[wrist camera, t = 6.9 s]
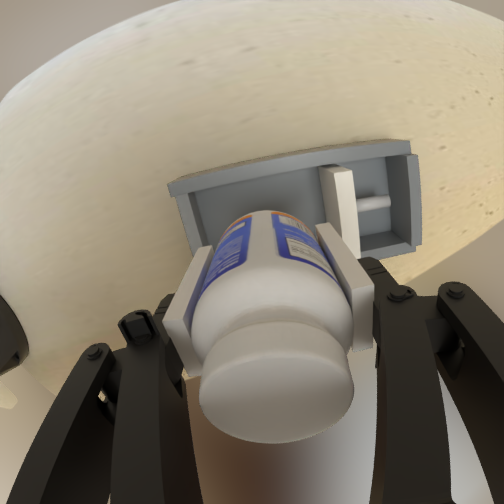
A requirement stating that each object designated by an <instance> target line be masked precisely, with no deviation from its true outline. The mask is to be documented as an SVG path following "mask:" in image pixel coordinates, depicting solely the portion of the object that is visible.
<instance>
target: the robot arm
mask: <svg viewBox="0 0 504 504" xmlns="http://www.w3.org/2000/svg"><path fill="white" fill-rule="evenodd" d="M315 227H316V234H317V241H318V244H319V245H320V247H321V249H322V251H323V253H324V255H325V257H326V259H327V261H328V263H329V264H330V266H331V268H332V270H333V272H334V274H335V276H336V278H337V280H338V282H339V284H340V286H341V288H342V290H343V292H344V295H345V297H346V299H347V301H348V303H349V306H350V309H351V312H352V316H353V322H354V333H353V340H352V344H351V348H352V350H353V352H357V351H361V350H365V349H369V348H372V347H373V337H374V339H375V341H376V343H377V353H376V364H375V368H377V424H376V426H377V427H376V444H375V457H374V470H373V479H372V487H371V494H370V501H369V504H456V503H455V502H454V501H453V500H452V497H451V473H450V454H449V442H448V433H447V424H446V417H445V411H444V403H443V398H442V392H441V386H440V381H439V376H438V372H437V370H438V371H439V373H440V375H441V377H442V379H443V381H444V383H445V385H446V386H447V389H448V391H449V392H450V395H451V397H452V399H453V401H454V403H455V405H456V407H457V409H458V411H459V413H460V415H461V418H462V420H463V422H464V424H465V426H466V429H467V431H468V433H469V435H470V438H471V440H472V443H473V445H474V448H475V450H476V453H477V455H478V457H479V460H480V463H481V466H482V468H483V471H484V474H485V476H486V479H487V483H488V485H489V488H490V492H491V495H492V498H493V501H494V504H504V323H503V322H502V321H501V320H500V319H499V318H498V317H497V315H496V314H495V313H494V312H493V311H492V310H491V309H490V308H489V307H488V306H487V305H486V304H485V303H484V301H483V300H481V298H480V297H479V296H478V295H477V294H476V293H475V292H474V291H473V290H472V289H471V288H470V287H468V286H467V285H466V284H463V283H460V282H447V283H444V284H442V285H441V286H440V287H439V290H438V296H417V294H416V292H415V291H414V290H413V289H412V288H410V287H407V286H404V285H399V284H398V283H397V282H396V281H395V280H394V278H393V277H392V276H391V275H390V273H389V272H387V270H386V269H385V267H383V265H382V264H381V263H380V261H379V260H377V259H375V258H373V257H370V256H369V257H364V258H360V259H356V258H355V256H354V255H353V253H352V252H351V251H350V249H349V248H348V247H347V245H346V244H345V243H344V241H343V240H342V238H341V237H340V236H339V234H338V233H337V232H336V230H335V229H334V228H333V226H332V225H331V224H330V223H329V222H328V223H322V224H317V225H315ZM213 257H214V250H213V247H212V245H210V246H205V247H200V248H198V250H197V252H196V254H195V255H194V257H193V259H192V261H191V263H190V265H189V267H188V269H187V271H186V273H185V275H184V277H183V279H182V281H181V283H180V285H179V287H178V289H177V291H176V293H174V294H168V295H167V296H166V297H165V298H164V299H163V300H162V301H161V302H160V304H159V306H158V309H156V311H155V315H153V317H152V315H151V313H150V312H149V311H148V310H137V311H134V312H131V313H129V314H127V315H126V316H124V317H123V318H122V319H121V320H120V321H119V323H118V327H119V329H120V331H121V332H122V334H123V336H124V338H125V340H126V342H127V347H126V348H123V349H119V350H116V351H113V352H112V351H111V349H110V347H109V346H108V345H107V344H106V343H98V344H94V345H91V346H90V347H89V348H88V349H86V350H85V351H84V352H83V354H82V355H81V357H80V358H79V360H78V362H77V363H76V365H75V366H74V368H73V370H72V371H71V373H70V375H69V376H68V378H67V380H66V381H65V383H64V385H63V387H62V388H61V390H60V392H59V394H58V395H57V397H56V399H55V401H54V402H53V404H52V406H51V408H50V410H49V412H48V414H47V415H46V417H45V419H44V421H43V423H42V425H41V427H40V429H39V431H38V433H37V435H36V436H35V439H34V441H33V443H32V445H31V447H30V449H29V451H28V453H27V455H26V457H25V459H24V462H23V464H22V466H21V469H20V471H19V473H18V475H17V478H16V480H15V483H14V485H13V487H12V490H11V492H10V495H9V498H8V500H7V503H6V504H107V503H108V499H109V495H110V504H203V499H202V495H201V489H200V484H199V478H198V473H197V467H196V461H195V454H194V448H193V441H192V434H191V427H190V419H189V411H188V404H187V394H186V384H185V381H184V379H183V377H182V375H181V374H182V371H183V367H184V368H185V370H186V372H187V374H188V376H189V377H191V376H202V371H203V367H202V365H201V364H200V362H199V361H198V359H197V357H196V354H195V352H194V348H193V345H192V339H191V328H192V321H193V316H194V312H195V308H196V305H197V302H198V299H199V296H200V293H201V290H202V287H203V284H204V282H205V279H206V276H207V273H208V270H209V268H210V265H211V262H212V259H213ZM27 355H28V344H27V340H26V337H25V334H24V332H23V330H22V328H21V326H20V324H19V322H18V320H17V318H16V317H15V315H14V314H13V312H12V311H11V309H10V308H9V306H8V305H7V304H6V302H5V301H4V300H3V299H2V297H1V296H0V376H1V375H3V374H5V373H7V372H8V371H10V370H12V369H14V368H16V367H17V366H19V365H20V364H21V363H22V362H23V361H24V359H25V358H26V357H27ZM100 391H102V392H103V394H104V395H105V396H106V398H105V400H104V401H101V399H100V398H99V397H98V395H99V393H100Z"/></svg>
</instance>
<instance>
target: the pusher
mask: <svg viewBox="0 0 504 504" xmlns="http://www.w3.org/2000/svg"><path fill="white" fill-rule="evenodd" d="M318 170H319V176H320V182H321V188H322V194H323V201H324V208H325V215H326V222H327V223H328V222H329V223H330V224H331V225H332V226H333V228H334V229H335V230H336V232H337V233H338V234H339V236H340V237H341V238H342V240H343V241H344V243H345V244H346V245H347V247H348V248H349V249H350V251H351V252H352V253H353V255H354V256H355V258H356V259H360V258H361V252H360V238H359V226H358V216H357V213H358V212H364V211H369V210H375V209H381V208H386V207H390V206H391V200H390V197H389V195H388V194H385V195H379V196H373V197H367V198H361V199H356V197H355V189H354V182H353V174H352V170H350V169H347V168H344V167H342V166H339V165H337V164H334V163H333V164H327V165H321V166H318Z"/></svg>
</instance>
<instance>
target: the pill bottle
mask: <svg viewBox="0 0 504 504" xmlns="http://www.w3.org/2000/svg"><path fill="white" fill-rule="evenodd" d="M353 333H354V322H353V316H352V312H351V309H350V306H349V303H348V301H347V299H346V297H345V295H344V292H343V290H342V288H341V286H340V284H339V282H338V280H337V278H336V276H335V274H334V272H333V270H332V268H331V266H330V264H329V263H328V261H327V259H326V257H325V255H324V253H323V251H322V249H321V247H320V245H319V244H318V242H317V240H316V238H315V236H314V235H313V233H312V232H311V230H310V229H309V228H308V227H307V226H306V225H305V224H304V223H302V222H301V221H300V220H298V219H297V218H295V217H293V216H291V215H289V214H286V213H283V212H279V211H270V210H263V211H256V212H252V213H249V214H247V215H244V216H242V217H241V218H239V219H237V220H236V221H235V222H234V223H232V224H231V225H230V226H229V227H228V228H227V230H226V231H225V232H224V234H223V235H222V237H221V239H220V241H219V243H218V246H217V248H216V251H215V254H214V257H213V259H212V262H211V265H210V268H209V270H208V273H207V276H206V279H205V282H204V284H203V287H202V290H201V293H200V296H199V299H198V302H197V305H196V308H195V312H194V316H193V321H192V328H191V339H192V345H193V348H194V352H195V354H196V357H197V359H198V361H199V362H200V364H201V365H202V367H203V371H202V377H201V383H200V390H199V402H200V407H201V409H202V412H203V414H204V415H205V416H206V418H207V419H208V420H209V421H210V422H211V423H212V424H213V425H214V426H216V427H217V428H218V429H220V430H221V431H223V432H225V433H227V434H229V435H231V436H233V437H237V438H240V439H243V440H247V441H252V442H259V443H287V442H293V441H298V440H302V439H306V438H309V437H311V436H314V435H317V434H319V433H321V432H323V431H325V430H326V429H328V428H330V427H331V426H333V425H334V424H335V423H337V422H338V421H339V420H340V419H341V418H342V417H343V416H344V414H345V413H346V412H347V410H348V409H349V407H350V405H351V402H352V400H353V396H354V384H353V380H352V377H351V373H350V369H349V365H348V359H347V354H348V352H349V349H350V347H351V344H352V340H353Z"/></svg>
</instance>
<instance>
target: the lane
mask: <svg viewBox="0 0 504 504" xmlns="http://www.w3.org/2000/svg"><path fill="white" fill-rule="evenodd" d="M333 163H334V164H337V165H339V166H342V167H344V168H347V169H350V170H352V174H353V182H354V189H355V197H356V199H361V198H367V197H373V196H379V195H385V194H388V195H389V197H390V200H391V206H390V207H386V208H381V209H375V210H369V211H364V212H358V213H357V216H358V226H359V238H360V252H361V258H364V257H369V256H370V257H373V258H375V259H377V260H380V259H384V258H389V257H393V256H398V255H402V254H406V253H411V252H415V251H416V246H418V245H422V205H421V185H420V172H419V161H418V155H416V154H411V147H410V141H408V140H397V139H382V140H372V141H363V142H354V143H347V144H339V145H332V146H325V147H318V148H312V149H306V150H300V151H294V152H288V153H283V154H278V155H272V156H267V157H262V158H257V159H253V160H248V161H243V162H239V163H234V164H230V165H225V166H221V167H217V168H213V169H209V170H205V171H201V172H197V173H193V174H189V175H186V176H182V177H180V178H178V179H176V180H174V181H172V182H171V183H169V184H167V185H168V189H169V193H170V196H171V197H175V198H176V201H177V205H178V208H179V212H180V215H181V219H182V222H183V225H184V229H185V232H186V235H187V239H188V242H189V245H190V248H191V252H192V255H193V257H194V255H195V254H196V252H197V250H198V248H200V247H205V246H210V245H212V247H213V250H214V254H215V251H216V248H217V246H218V243H219V241H220V239H221V237H222V235H223V234H224V232H225V231H226V230H227V228H228V227H229V226H230V225H231V224H232V223H234V222H235V221H236V220H237V219H239V218H241V217H242V216H244V215H247V214H249V213H252V212H256V211H263V210H270V211H279V212H283V213H286V214H289V215H291V216H293V217H295V218H297V219H298V220H300V221H301V222H302V223H304V224H305V225H306V226H307V227H308V228H309V229H310V230H311V232H312V233H313V235H314V236H315V238H316V240H317V234H316V227H315V225H317V224H322V223H327V222H326V215H325V208H324V201H323V194H322V188H321V182H320V176H319V170H318V166H321V165H327V164H333ZM317 242H318V241H317Z"/></svg>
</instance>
